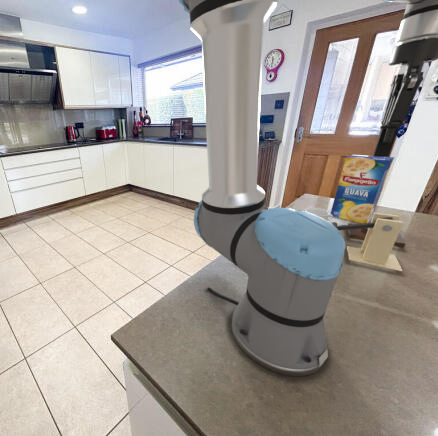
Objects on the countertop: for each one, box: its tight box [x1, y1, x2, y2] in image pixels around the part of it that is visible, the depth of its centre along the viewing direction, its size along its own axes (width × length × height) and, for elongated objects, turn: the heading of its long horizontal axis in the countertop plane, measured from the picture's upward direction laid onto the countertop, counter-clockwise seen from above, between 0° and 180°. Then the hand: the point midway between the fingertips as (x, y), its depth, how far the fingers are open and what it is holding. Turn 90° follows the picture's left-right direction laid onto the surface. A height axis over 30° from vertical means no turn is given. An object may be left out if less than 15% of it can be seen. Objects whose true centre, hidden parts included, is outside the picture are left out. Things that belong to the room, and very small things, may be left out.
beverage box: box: [330, 154, 395, 224], centre depth 83 cm, size 7×11×22 cm, turn 37°
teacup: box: [303, 207, 334, 222], centre depth 83 cm, size 10×10×5 cm
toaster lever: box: [330, 217, 393, 231], centre depth 61 cm, size 12×6×2 cm, turn 56°
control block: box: [347, 223, 406, 248], centre depth 72 cm, size 12×9×4 cm
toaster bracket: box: [346, 211, 404, 272], centre depth 60 cm, size 10×8×13 cm
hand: (380, 156), depth 58 cm, fingers closed
